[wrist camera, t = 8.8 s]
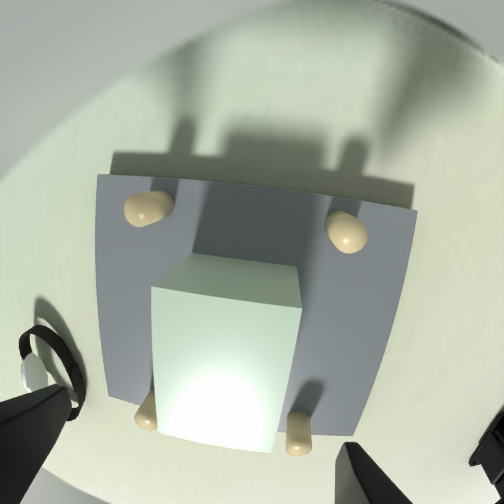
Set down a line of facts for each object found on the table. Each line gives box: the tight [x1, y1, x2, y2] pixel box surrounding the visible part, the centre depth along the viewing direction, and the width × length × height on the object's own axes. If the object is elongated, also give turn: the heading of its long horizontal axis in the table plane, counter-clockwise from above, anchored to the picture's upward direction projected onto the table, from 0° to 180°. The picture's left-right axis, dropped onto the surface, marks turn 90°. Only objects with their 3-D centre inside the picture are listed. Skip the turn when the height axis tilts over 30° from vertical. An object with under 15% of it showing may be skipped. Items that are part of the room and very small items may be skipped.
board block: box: [151, 253, 302, 453], centre depth 13 cm, size 5×7×5 cm
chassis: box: [95, 174, 417, 456], centre depth 15 cm, size 16×14×4 cm
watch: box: [19, 325, 85, 421], centre depth 18 cm, size 8×5×4 cm, turn 9°
